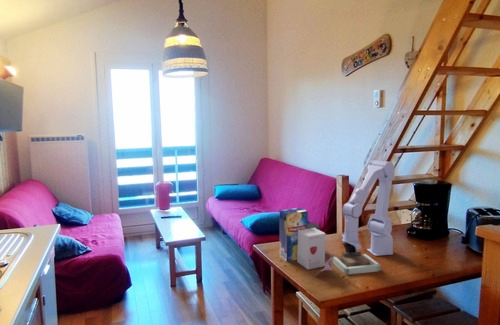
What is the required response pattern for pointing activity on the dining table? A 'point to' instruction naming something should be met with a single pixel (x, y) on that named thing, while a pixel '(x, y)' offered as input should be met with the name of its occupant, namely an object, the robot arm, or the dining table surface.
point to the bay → (357, 269)
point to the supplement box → (311, 248)
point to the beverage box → (291, 231)
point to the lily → (328, 266)
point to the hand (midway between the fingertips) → (350, 259)
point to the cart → (354, 259)
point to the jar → (313, 226)
